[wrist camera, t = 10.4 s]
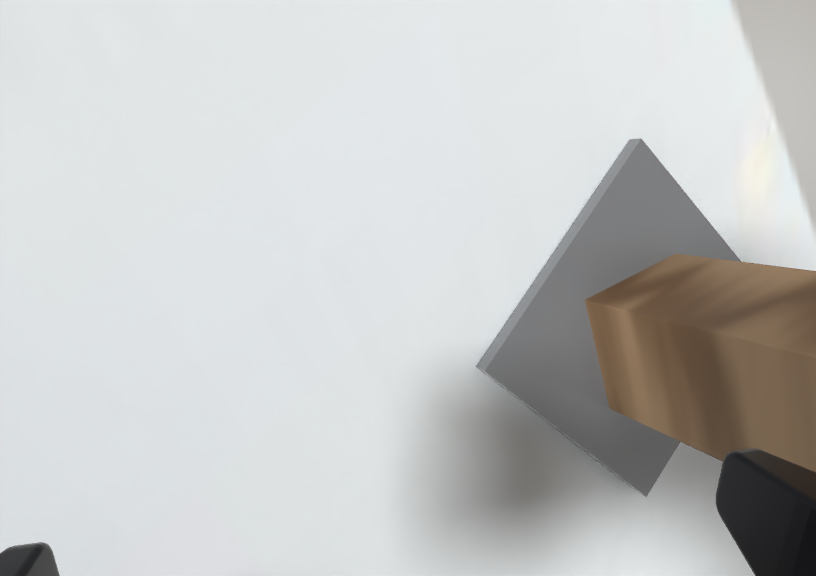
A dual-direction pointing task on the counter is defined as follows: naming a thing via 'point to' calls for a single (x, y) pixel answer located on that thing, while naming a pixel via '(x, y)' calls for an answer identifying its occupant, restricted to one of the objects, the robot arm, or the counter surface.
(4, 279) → the counter surface
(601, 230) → the coaster
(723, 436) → the block
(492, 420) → the counter surface
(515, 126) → the counter surface
